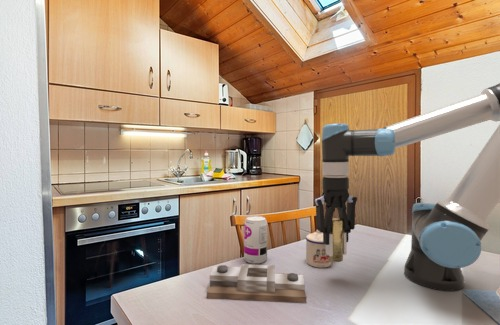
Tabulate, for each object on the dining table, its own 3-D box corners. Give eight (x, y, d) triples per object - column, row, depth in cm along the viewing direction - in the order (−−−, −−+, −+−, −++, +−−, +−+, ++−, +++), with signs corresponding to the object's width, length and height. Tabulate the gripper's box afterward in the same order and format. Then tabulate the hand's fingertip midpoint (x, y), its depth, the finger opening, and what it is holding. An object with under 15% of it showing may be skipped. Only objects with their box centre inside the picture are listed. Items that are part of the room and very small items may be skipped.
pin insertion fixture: (301, 278, 83) (301, 261, 83) (306, 302, 70) (306, 281, 70) (216, 275, 85) (216, 258, 85) (206, 297, 72) (206, 277, 72)
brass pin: (345, 259, 82) (345, 219, 82) (339, 263, 79) (338, 222, 79) (333, 255, 85) (332, 217, 85) (326, 259, 82) (326, 219, 82)
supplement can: (247, 265, 92) (247, 222, 92) (241, 256, 100) (241, 216, 100) (270, 263, 95) (270, 220, 94) (262, 254, 103) (263, 214, 102)
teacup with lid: (313, 269, 89) (313, 234, 89) (301, 259, 98) (301, 227, 98) (345, 265, 92) (345, 232, 92) (330, 255, 101) (331, 224, 101)
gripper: (352, 174, 87) (352, 246, 88) (303, 176, 83) (304, 252, 83) (368, 176, 80) (368, 255, 81) (315, 178, 75) (316, 262, 76)
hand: (336, 253), depth 82 cm, fingers closed on brass pin, 4 cm apart
